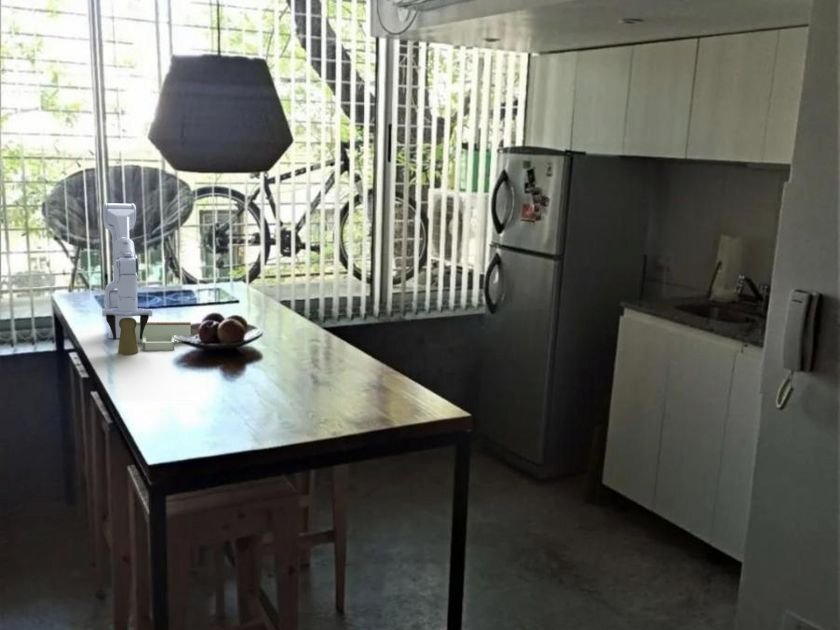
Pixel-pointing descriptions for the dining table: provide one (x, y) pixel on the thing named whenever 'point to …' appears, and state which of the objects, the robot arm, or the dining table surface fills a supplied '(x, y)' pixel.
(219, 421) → the dining table surface
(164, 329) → the stand
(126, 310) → the robot arm
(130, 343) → the cork
